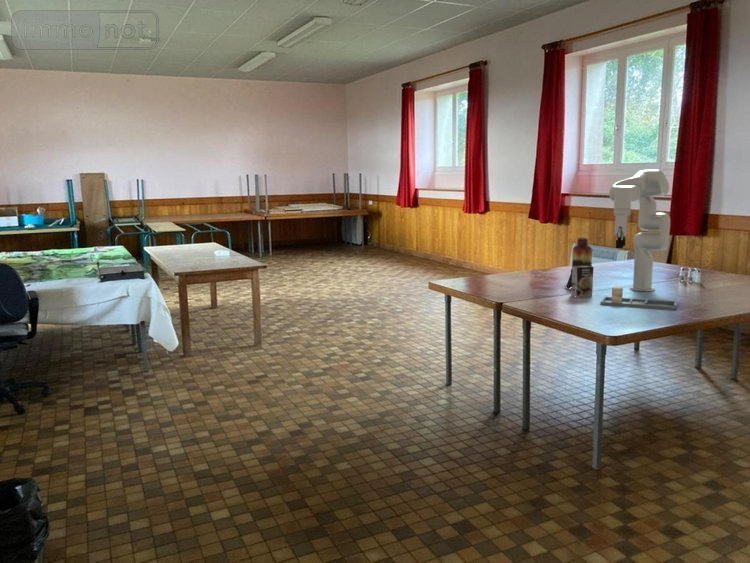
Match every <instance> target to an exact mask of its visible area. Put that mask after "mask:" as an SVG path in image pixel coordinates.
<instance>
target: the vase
mask: <svg viewBox="0 0 750 563" xmlns="http://www.w3.org/2000/svg"><path fill="white" fill-rule="evenodd" d="M576 241H577V242H576V245H575V246H573V247H572V256H571V259H572V261H571V267H572V266H592V264H593V263H592V262H593V248H592V247H591V245H589V238H587V237H578V238H577V240H576ZM592 267H593V266H592Z"/></svg>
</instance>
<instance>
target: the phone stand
mask: <svg viewBox="0 0 750 563" xmlns="http://www.w3.org/2000/svg"><path fill="white" fill-rule="evenodd" d="M566 287H567V288H570V287H572V268H571V269H570V275H569V277H568V281H567V282H566V285H565V288H566Z"/></svg>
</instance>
